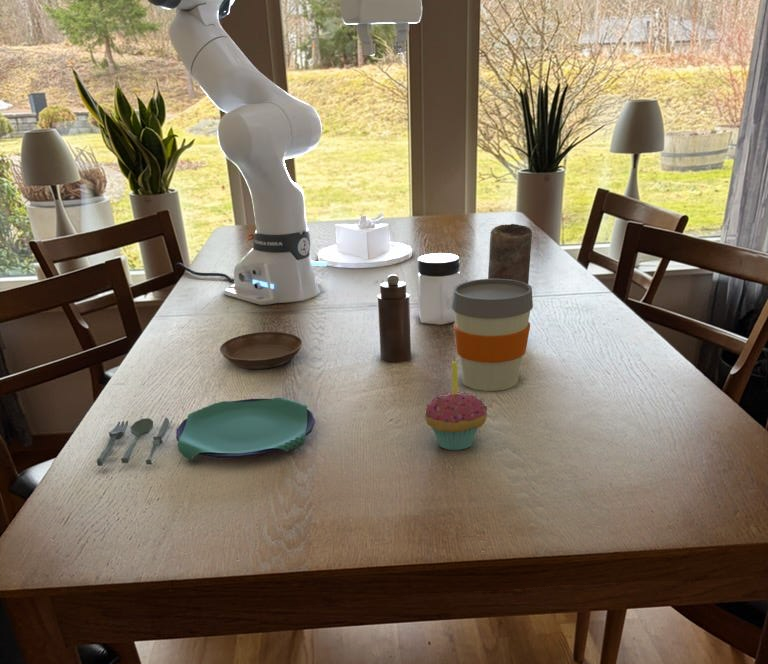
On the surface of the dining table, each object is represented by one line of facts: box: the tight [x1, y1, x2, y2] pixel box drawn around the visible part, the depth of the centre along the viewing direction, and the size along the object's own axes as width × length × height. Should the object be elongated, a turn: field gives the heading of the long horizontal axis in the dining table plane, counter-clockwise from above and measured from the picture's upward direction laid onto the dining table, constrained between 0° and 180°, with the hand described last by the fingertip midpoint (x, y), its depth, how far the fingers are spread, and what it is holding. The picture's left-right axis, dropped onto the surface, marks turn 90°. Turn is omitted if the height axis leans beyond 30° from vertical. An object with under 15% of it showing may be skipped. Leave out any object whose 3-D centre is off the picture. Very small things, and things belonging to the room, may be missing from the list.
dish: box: [317, 212, 413, 269], centre depth 206 cm, size 25×25×11 cm
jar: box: [417, 252, 461, 326], centre depth 156 cm, size 9×8×12 cm
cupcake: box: [424, 355, 488, 451], centre depth 106 cm, size 9×8×12 cm
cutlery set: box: [96, 396, 316, 467], centre depth 114 cm, size 20×30×2 cm, turn 94°
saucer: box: [219, 331, 303, 370], centre depth 142 cm, size 15×15×3 cm
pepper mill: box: [377, 273, 412, 364], centre depth 137 cm, size 5×5×15 cm
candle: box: [487, 223, 533, 284], centre depth 141 cm, size 8×7×20 cm
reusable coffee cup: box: [452, 278, 534, 392], centre depth 125 cm, size 13×13×15 cm
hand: (384, 54), depth 140 cm, fingers open, 8 cm apart
